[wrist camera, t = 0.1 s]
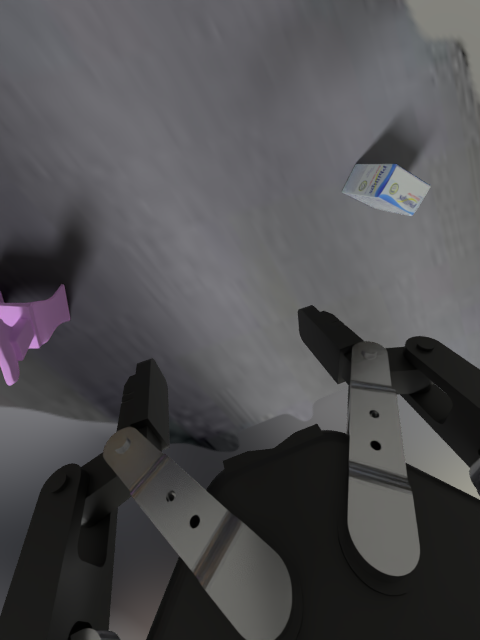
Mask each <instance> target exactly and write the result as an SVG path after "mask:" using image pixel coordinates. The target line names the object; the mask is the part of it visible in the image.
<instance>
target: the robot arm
mask: <svg viewBox="0 0 480 640" xmlns="http://www.w3.org/2000/svg"><path fill="white" fill-rule="evenodd" d="M298 321H299V333H300V336H301V339H302V341H303V342H304V343H305V345H306V346H307V347H308V348H309V349H310V351H311V352H312V353H313V354H314V356H315V357H316V358H317V359H318V361H319V362H320V363H321V364H322V365H323V367H324V368H325V369H326V370H327V372H328V373H329V374H330V375H331V377H332V378H333V379H334V380H335V381H336V383H337V384H340V383H343V382H345V381H346V383H347V384H348V385H349V387H348V407H347V427H346V434H345V433H342V432H338V431H331V430H322V431H321V429H320V428H319V426H318V424H315V425H313V426H310V427H308V428H305V429H302V430H300V431H297V432H295V433H294V434H292V435H291V436H290V437H288V438H287V439H286V440H284V441H283V442H282V443H280V444H279V445H278V446H276V447H275V448H273V449H265V450H256V451H247V452H245V453H242V454H240V455H237V456H234V457H232V458H229V459H227V460H224V461H223V463H224V468H225V469H224V470H223V471H221V472H220V473H219V474H218V475H217V476H216V477H215V479H214V480H213V481H212V482H211V484H210V485H209V486H208V488H207V490H205V489H204V488H203V487H202V486H200V485H199V484H198V483H197V482H196V481H195V480H194V479H193V478H192V477H191V476H189V475H188V474H187V473H186V472H185V471H184V470H183V469H182V468H181V467H179V466H178V465H177V464H176V463H175V462H174V461H173V460H172V459H171V458H169V457H168V456H167V455H166V454H163V453H162V450H165V449H167V448H169V447H170V446H169V445H170V444H169V411H168V387H167V383H166V380H165V378H164V376H163V374H162V372H161V371H160V369H159V367H158V365H157V364H156V362H155V360H154V359H149V360H146V361H143V362H140V363H138V364H137V367H136V375H133V376H130V377H129V379H128V380H127V382H126V384H125V386H124V391H123V397H122V404H121V409H120V415H119V421H118V426H117V432H116V433H115V434H114V435H113V436H111V437H110V439H109V440H108V441H107V443H106V445H105V447H104V450H103V453H101V454H100V455H98V456H97V457H95V458H94V459H92V460H91V461H90V462H88V463H87V464H85V465H84V466H82V467H80V466H79V465H77V464H68V465H65V466H63V467H61V468H60V469H58V470H57V471H56V472H55V473H53V474H52V475H51V476H50V477H49V479H48V480H47V481H46V482H45V484H44V485H43V488H42V489H41V492H40V495H39V498H38V501H37V504H36V507H35V510H34V513H33V516H32V520H31V522H30V526H29V529H28V532H27V535H26V538H25V541H24V544H23V547H22V550H21V554H20V557H19V560H18V563H17V566H16V569H15V572H14V575H13V578H12V581H11V585H10V588H9V591H8V594H7V597H6V600H5V603H4V606H3V610H2V613H1V616H0V640H120V638H119V636H118V635H117V634H116V633H115V632H113V631H109V617H110V604H111V591H112V578H113V565H114V552H115V538H116V525H117V512H118V506H120V505H121V504H122V503H123V502H125V501H126V500H127V499H129V498H130V497H131V496H132V497H133V498H134V500H135V501H136V502H137V503H138V505H139V506H140V507H141V508H142V510H143V511H144V512H145V513H146V514H147V516H148V517H149V518H150V519H151V521H152V522H153V523H154V525H155V526H156V527H157V528H158V529H159V531H160V532H161V533H162V534H163V536H164V537H165V538H166V540H167V541H168V542H169V543H170V545H171V546H172V547H173V548H174V550H175V551H176V552H177V553H178V555H179V558H178V560H177V563H176V566H175V568H174V570H173V573H172V575H171V578H170V580H169V583H168V586H167V588H166V591H165V593H164V596H163V599H162V601H161V603H160V606H159V608H158V611H157V614H156V616H155V619H154V621H153V624H152V626H151V628H150V631H149V634H148V636H147V639H146V640H480V500H479V499H477V498H475V497H473V496H471V495H469V494H467V493H465V492H463V491H461V490H459V489H457V488H455V487H453V486H451V485H449V484H447V483H445V482H443V481H441V480H439V479H437V478H435V477H433V476H431V475H429V474H427V473H425V472H423V471H421V470H419V469H417V468H415V467H413V466H411V465H409V464H407V463H405V456H404V449H403V440H402V433H401V426H400V418H399V410H398V403H397V394H400V395H401V396H402V397H403V398H404V399H405V400H406V401H407V402H408V403H409V404H410V405H411V407H413V408H414V410H415V411H416V412H417V413H418V414H419V415H420V416H421V417H422V418H423V419H424V420H425V421H426V422H427V423H428V424H429V425H430V426H431V427H432V429H433V430H434V431H435V432H436V433H438V435H439V436H440V437H441V438H442V439H443V440H444V441H445V442H446V443H447V444H448V445H449V446H450V447H451V448H452V449H453V451H455V453H456V454H457V455H458V456H459V457H460V458H461V459H462V460H463V461H464V462H465V463H466V464H467V465H468V466H469V467H470V470H469V474H470V478H471V481H472V483H473V485H474V486H475V487H476V489H477V492H478V494H479V496H480V370H479V369H478V368H477V367H475V366H474V365H472V364H471V363H469V362H468V361H466V360H465V359H463V358H462V357H461V356H459V355H458V354H456V353H455V352H453V351H452V350H450V349H449V348H447V347H446V346H445V345H443V344H442V343H440V342H439V341H437V340H435V339H432V338H429V337H423V336H416V337H412V338H409V339H408V340H407V341H406V344H405V347H396V348H384V347H383V346H381V345H380V344H378V343H375V342H370V341H363V340H362V339H361V338H360V337H359V336H357V335H356V334H355V333H354V332H353V331H352V330H350V329H349V328H348V327H347V326H346V325H344V323H342V322H341V321H339V319H338V318H337V317H335V316H334V315H333V314H331V313H328V312H326V311H322V312H320V311H318V310H317V309H316V308H315V307H314V306H313V305H311V306H308V307H305V308H302V309H299V310H298ZM435 384H436V385H437V386H436V385H435ZM442 390H443V391H444V392H445V393H444V392H443V391H442Z"/></svg>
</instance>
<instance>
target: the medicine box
mask: <svg viewBox="0 0 480 640" xmlns="http://www.w3.org/2000/svg"><path fill="white" fill-rule="evenodd" d="M430 187H431V186H430V185H429V184H427V183H426V182H424V181H422V180H421V179H419V178H418V177H416V176H415V175H413V174H411V173H410V172H408V171H407V170H405V169H403V168H402V167H400V166H399V165H397V164H356V165H355V166H354V168H353V170H352V172H351V174H350V176H349V178H348V180H347V182H346V184H345V186H344V188H343V190H342V193H344V194H346V195H348V196H350V197H352V198H354V199H356V200H358V201H361V202H363V203H365V204H367V205H369V206H371V207H373V208H375V209H379V210H384V211H388V212H393V213H398V214H402V215H408V216H413V214H414V213H415V211H416V210H417V208H418V207H419V205H420V204H421V202H422V200H423V199H424V197H425V195H426V194H427V192H428V190H429V189H430Z"/></svg>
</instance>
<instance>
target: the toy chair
mask: <svg viewBox="0 0 480 640" xmlns="http://www.w3.org/2000/svg"><path fill="white" fill-rule="evenodd" d="M66 321H70V314H69V308H68V303H67V297H66V292H65V287H64V284H61V285H60V287H59V288H58V290H57V291H56V292H55V293H54V295H53V296H52V297H51V298H49V299H47V300H43V301H35V302H30V303H4V300H3V297H2V294H1V291H0V367H1V369H2V372H3V375H4V378H5V381H6V383H7V384H8V385H12V384H14V383H15V382H17V380H18V378H19V365H18V361H20V360H23V359H24V357H25V355H26V352H27V350H28V348H40V347H41V345H42V344H44V343H46V342H47V341H48V340H49V339H50V337H51V335H52V333H53V332H54V330H55V329H56V327H57V326H58V325H60V324H61V323H63V322H66Z"/></svg>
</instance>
